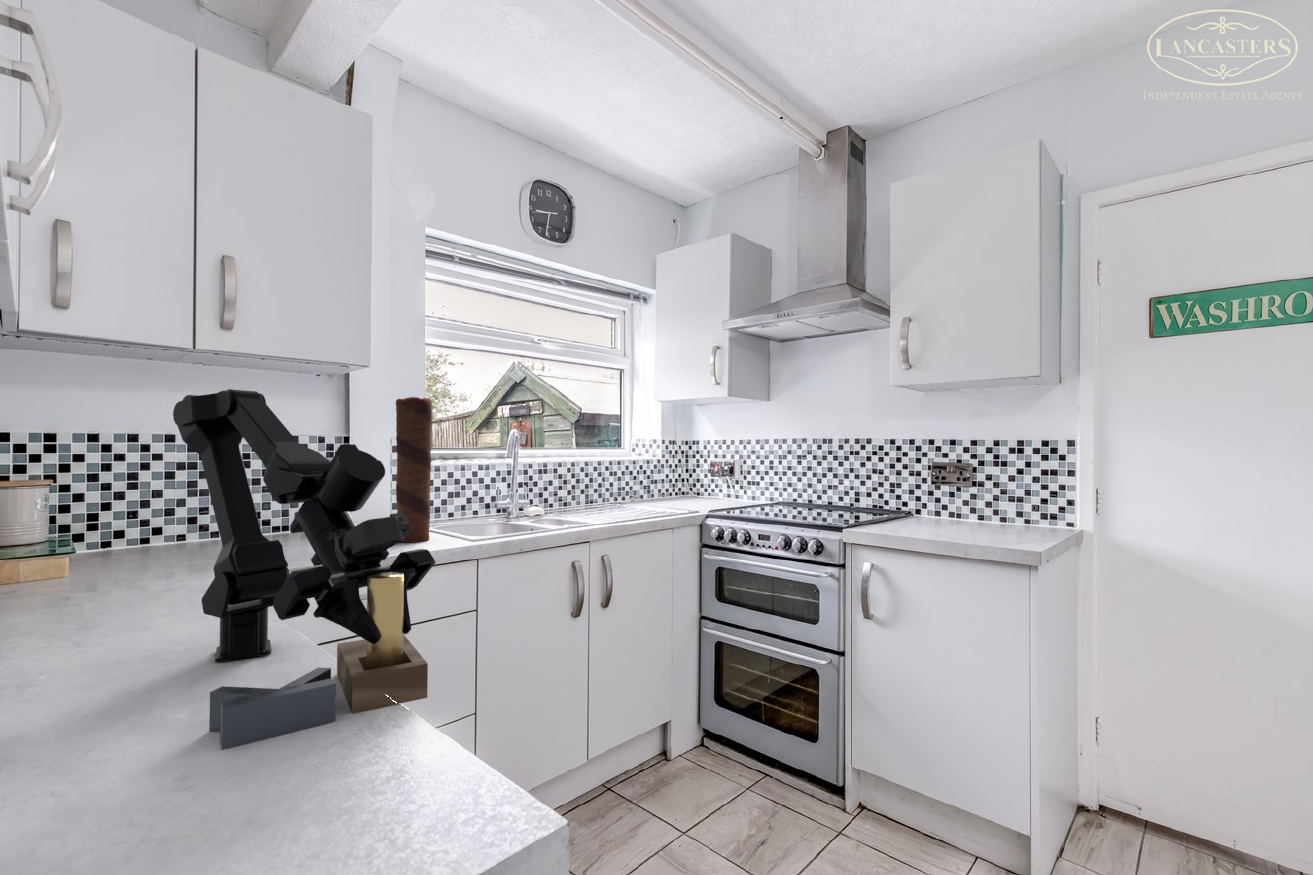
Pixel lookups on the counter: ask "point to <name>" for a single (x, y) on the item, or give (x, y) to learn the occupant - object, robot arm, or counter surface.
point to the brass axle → (385, 619)
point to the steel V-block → (272, 709)
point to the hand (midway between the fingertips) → (393, 636)
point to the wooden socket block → (380, 677)
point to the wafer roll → (414, 464)
